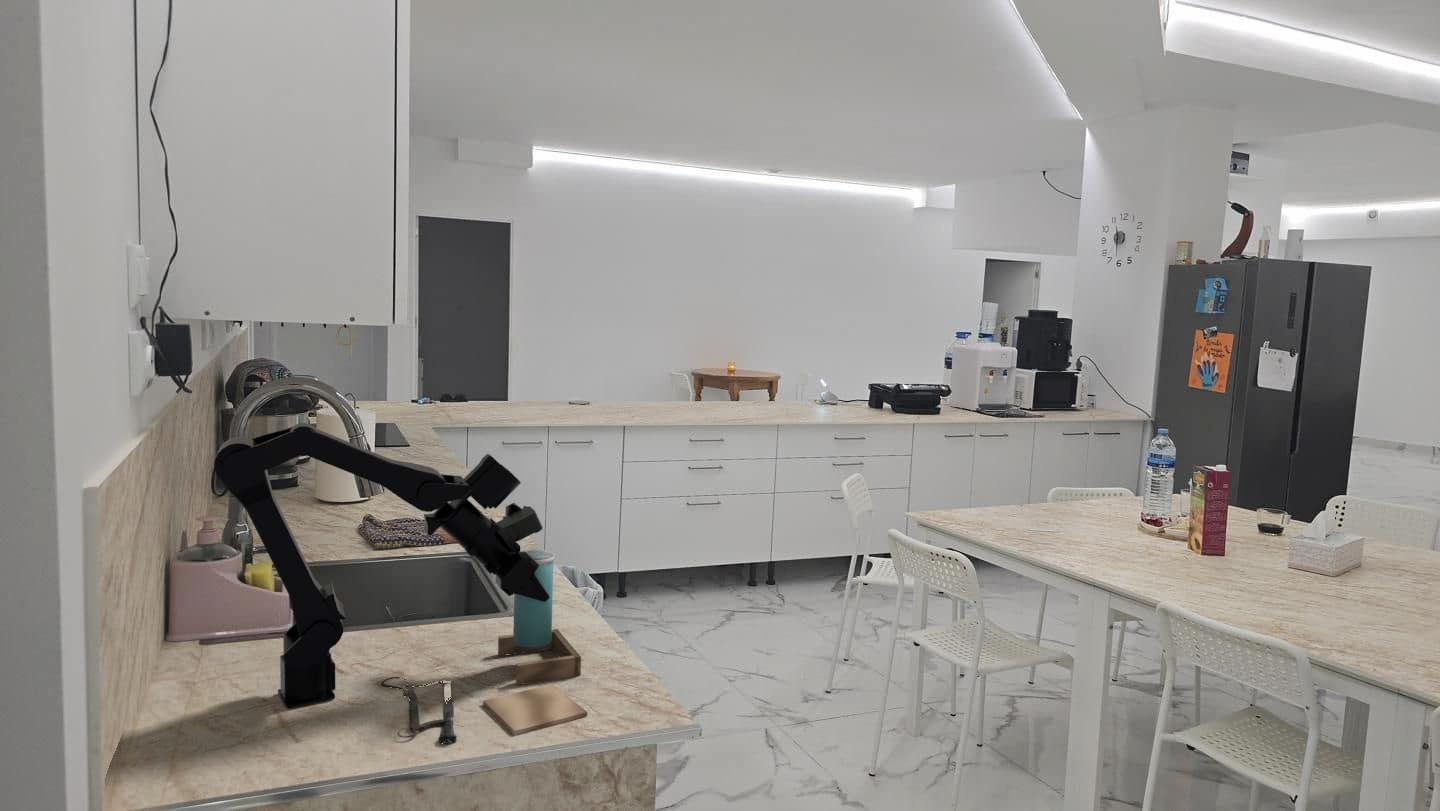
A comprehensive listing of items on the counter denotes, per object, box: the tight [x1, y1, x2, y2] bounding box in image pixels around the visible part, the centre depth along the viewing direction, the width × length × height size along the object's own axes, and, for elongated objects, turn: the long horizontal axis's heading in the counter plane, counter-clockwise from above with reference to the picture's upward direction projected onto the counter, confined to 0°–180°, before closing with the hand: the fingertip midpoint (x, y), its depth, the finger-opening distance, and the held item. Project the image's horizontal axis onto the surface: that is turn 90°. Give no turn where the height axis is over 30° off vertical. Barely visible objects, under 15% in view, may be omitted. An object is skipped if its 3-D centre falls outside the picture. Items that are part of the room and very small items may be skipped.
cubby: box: [497, 628, 582, 685], centre depth 147 cm, size 10×13×3 cm
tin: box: [512, 549, 555, 647], centre depth 145 cm, size 6×6×14 cm
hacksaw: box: [380, 676, 457, 745], centre depth 130 cm, size 24×10×2 cm, turn 18°
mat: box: [482, 684, 588, 736], centre depth 131 cm, size 11×11×1 cm
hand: (542, 593), depth 146 cm, fingers closed on tin, 6 cm apart
